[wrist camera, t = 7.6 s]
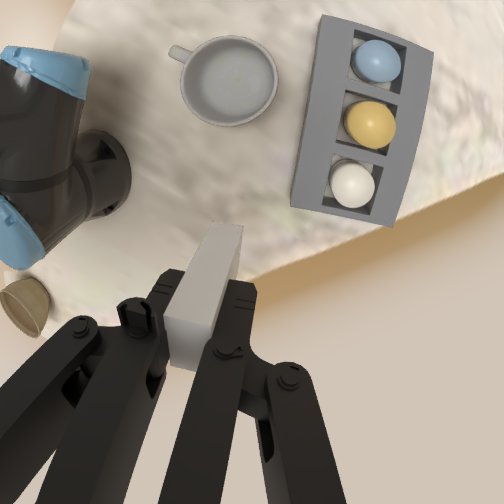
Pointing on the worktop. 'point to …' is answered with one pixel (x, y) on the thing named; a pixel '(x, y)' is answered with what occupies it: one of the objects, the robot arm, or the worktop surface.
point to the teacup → (227, 80)
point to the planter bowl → (26, 305)
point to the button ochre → (370, 124)
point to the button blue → (376, 62)
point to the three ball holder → (329, 112)
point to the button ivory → (351, 183)
